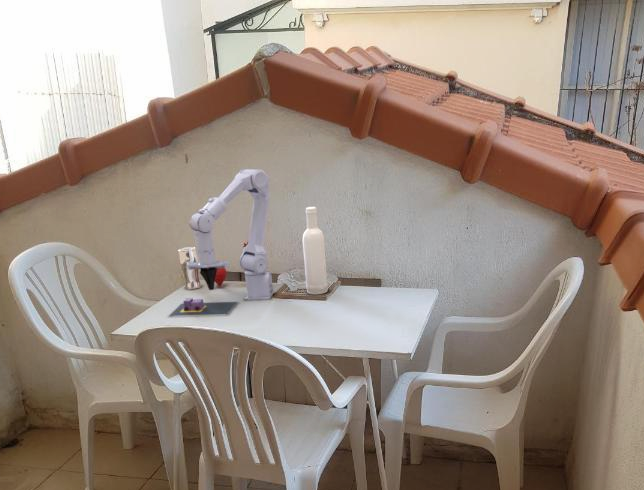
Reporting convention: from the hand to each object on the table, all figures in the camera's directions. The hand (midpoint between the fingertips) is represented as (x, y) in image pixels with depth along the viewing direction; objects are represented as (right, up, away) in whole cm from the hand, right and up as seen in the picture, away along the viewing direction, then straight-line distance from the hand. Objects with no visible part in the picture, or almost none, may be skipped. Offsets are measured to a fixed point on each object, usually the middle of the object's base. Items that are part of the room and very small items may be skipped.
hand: (211, 289), depth 243 cm
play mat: (-3, -6, +4) cm, 8 cm away
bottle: (+37, +2, +13) cm, 40 cm away
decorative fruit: (-2, +12, +27) cm, 30 cm away
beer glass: (-12, +8, +32) cm, 35 cm away
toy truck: (-7, -6, +5) cm, 10 cm away
